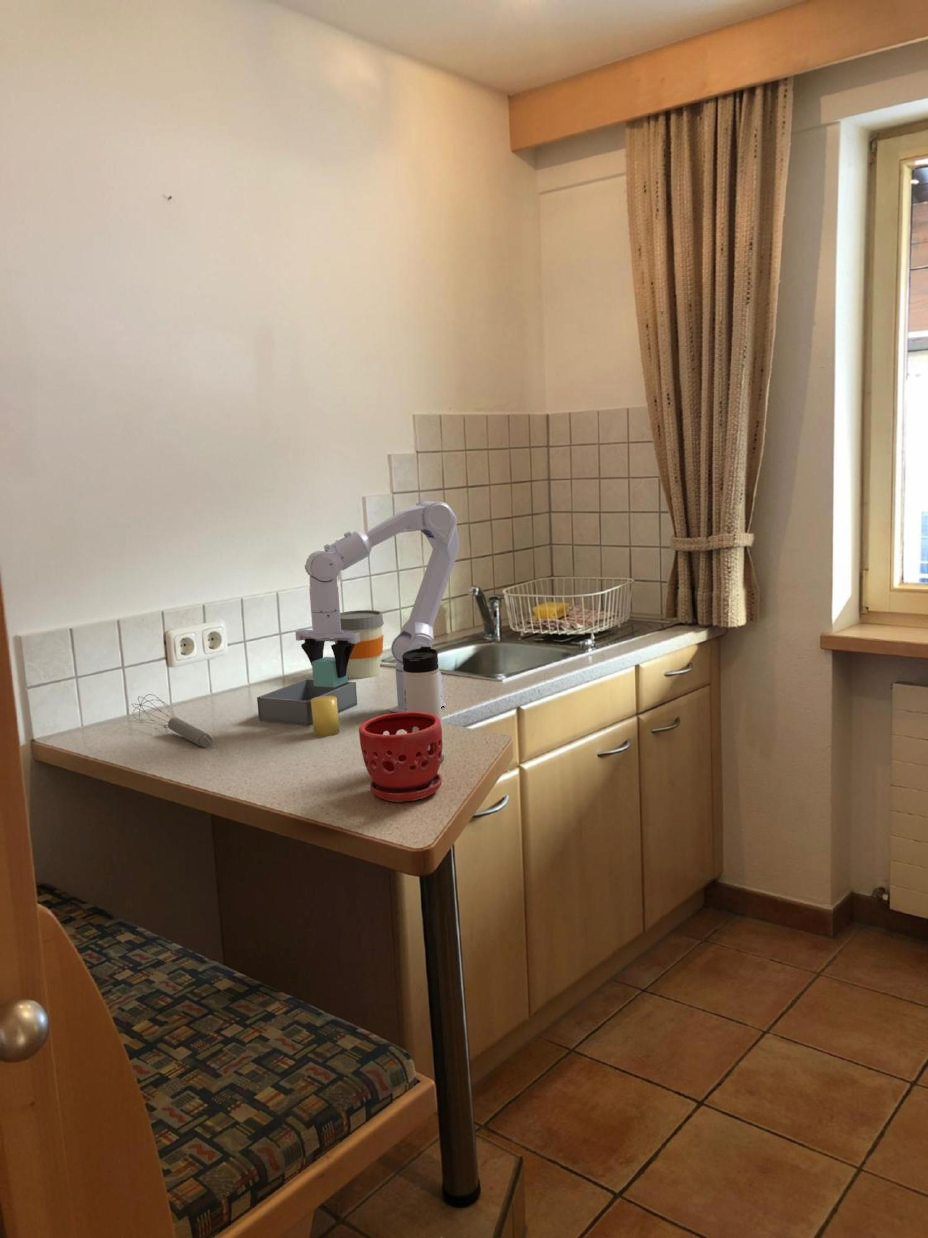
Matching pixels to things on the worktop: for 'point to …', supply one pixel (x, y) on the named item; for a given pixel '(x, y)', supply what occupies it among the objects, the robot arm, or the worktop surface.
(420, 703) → the travel mug
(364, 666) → the reusable coffee cup
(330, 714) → the cylinder
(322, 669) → the cube
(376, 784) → the plant pot
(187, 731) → the kitchen whisk
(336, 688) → the tote
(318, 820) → the worktop surface
